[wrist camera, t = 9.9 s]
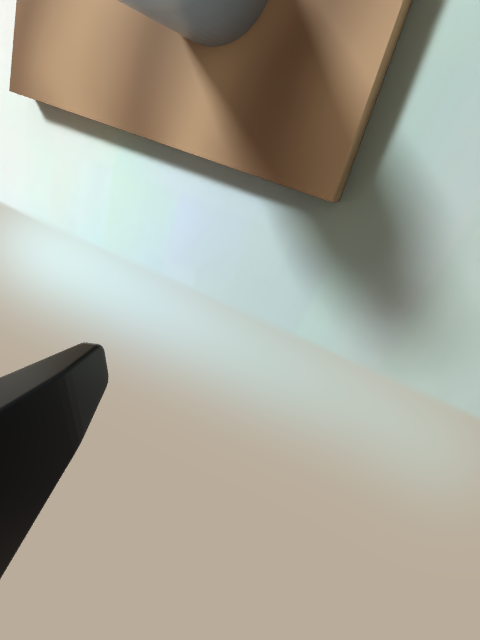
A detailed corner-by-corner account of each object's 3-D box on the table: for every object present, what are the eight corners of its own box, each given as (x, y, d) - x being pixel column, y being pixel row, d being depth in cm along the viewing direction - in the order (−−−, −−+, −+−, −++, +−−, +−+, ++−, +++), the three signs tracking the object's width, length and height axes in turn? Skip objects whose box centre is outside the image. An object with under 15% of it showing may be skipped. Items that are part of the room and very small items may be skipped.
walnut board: (440, -78, 16) (439, -102, 15) (339, 201, 20) (331, 202, 19) (55, -134, 21) (29, -155, 20) (32, 96, 25) (9, 90, 24)
